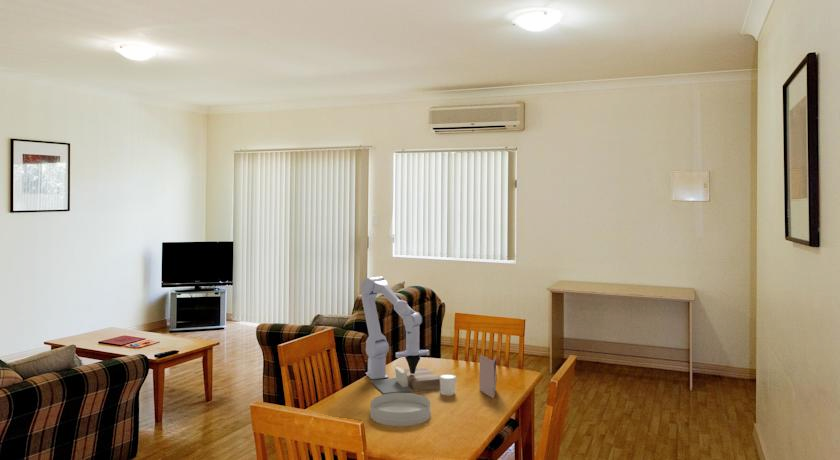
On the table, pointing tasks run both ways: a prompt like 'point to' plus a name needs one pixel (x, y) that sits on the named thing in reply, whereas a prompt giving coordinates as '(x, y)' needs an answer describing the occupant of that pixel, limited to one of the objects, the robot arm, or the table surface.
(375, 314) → the robot arm
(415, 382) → the platform
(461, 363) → the table surface
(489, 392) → the greeting card
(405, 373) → the tile
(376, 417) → the dish
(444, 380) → the white cup
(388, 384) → the mat
